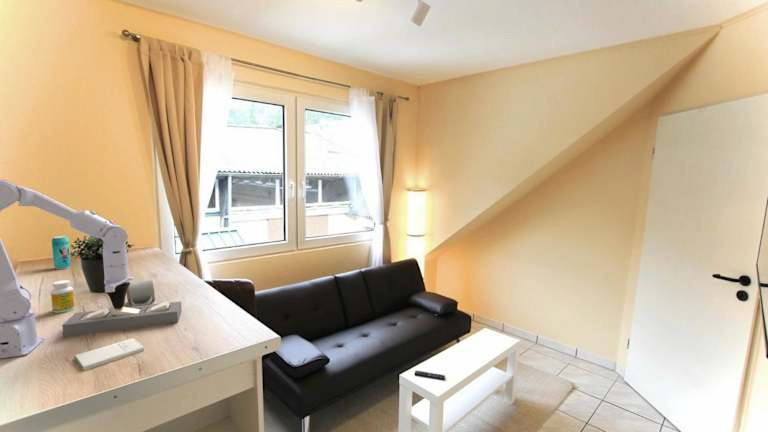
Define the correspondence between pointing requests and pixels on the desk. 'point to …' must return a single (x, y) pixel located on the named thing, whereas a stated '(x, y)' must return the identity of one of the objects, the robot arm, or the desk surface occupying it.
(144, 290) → the ceramic mug
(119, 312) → the rocker
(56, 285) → the supplement bottle
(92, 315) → the rocker
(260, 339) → the desk surface
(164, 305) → the rocker
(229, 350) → the desk surface
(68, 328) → the rocker switch panel
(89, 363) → the external hard drive
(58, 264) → the beverage can
